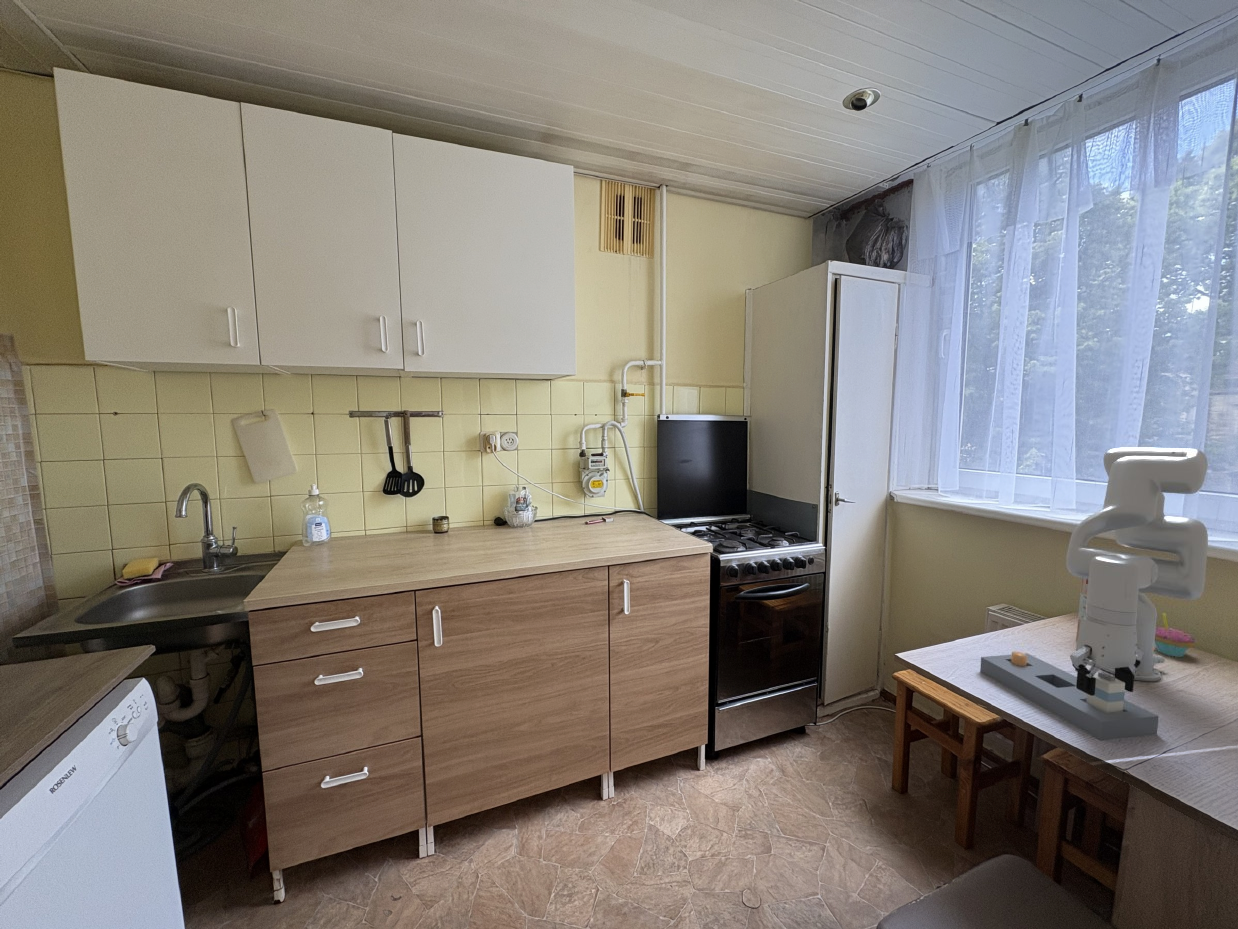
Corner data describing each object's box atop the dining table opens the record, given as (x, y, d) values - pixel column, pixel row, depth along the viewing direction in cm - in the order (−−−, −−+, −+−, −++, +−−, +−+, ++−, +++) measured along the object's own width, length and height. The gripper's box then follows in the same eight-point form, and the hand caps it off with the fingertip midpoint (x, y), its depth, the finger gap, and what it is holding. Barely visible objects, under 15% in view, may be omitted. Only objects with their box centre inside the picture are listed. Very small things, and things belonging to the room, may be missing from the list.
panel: (1026, 669, 128) (1027, 653, 127) (1156, 736, 100) (1158, 716, 100) (980, 673, 126) (981, 657, 125) (1100, 742, 98) (1102, 722, 98)
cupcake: (1148, 652, 137) (1151, 612, 136) (1147, 643, 142) (1151, 604, 142) (1194, 663, 130) (1198, 621, 129) (1192, 653, 136) (1196, 613, 135)
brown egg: (1017, 673, 124) (1018, 651, 124) (1028, 679, 121) (1030, 656, 121) (1007, 674, 124) (1008, 651, 124) (1018, 680, 121) (1019, 657, 121)
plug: (1100, 715, 106) (1103, 669, 105) (1121, 727, 102) (1125, 679, 101) (1084, 717, 106) (1088, 671, 105) (1105, 729, 102) (1109, 680, 101)
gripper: (1123, 605, 107) (1117, 678, 108) (1057, 610, 105) (1052, 684, 106) (1166, 618, 100) (1159, 696, 101) (1095, 624, 97) (1089, 703, 99)
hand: (1104, 690), depth 103 cm, fingers open, 9 cm apart
